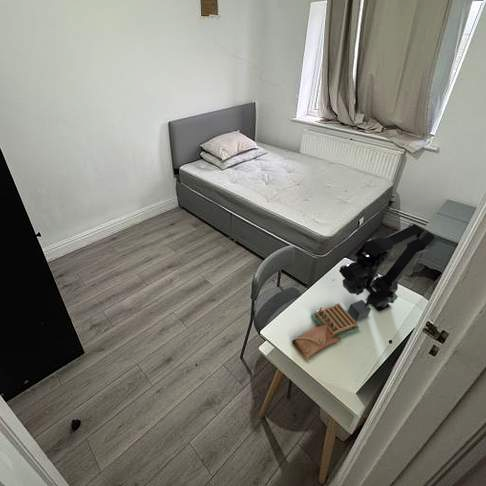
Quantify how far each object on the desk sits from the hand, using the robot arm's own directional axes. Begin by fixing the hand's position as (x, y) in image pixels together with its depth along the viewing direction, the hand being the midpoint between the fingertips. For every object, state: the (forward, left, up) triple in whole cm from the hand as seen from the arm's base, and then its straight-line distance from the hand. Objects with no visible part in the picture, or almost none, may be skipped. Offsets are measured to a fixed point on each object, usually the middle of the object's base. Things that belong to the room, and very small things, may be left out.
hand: (356, 297), depth 112 cm
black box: (-4, 0, -12) cm, 13 cm away
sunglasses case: (+19, +4, -13) cm, 24 cm away
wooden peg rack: (+8, 0, -12) cm, 15 cm away
